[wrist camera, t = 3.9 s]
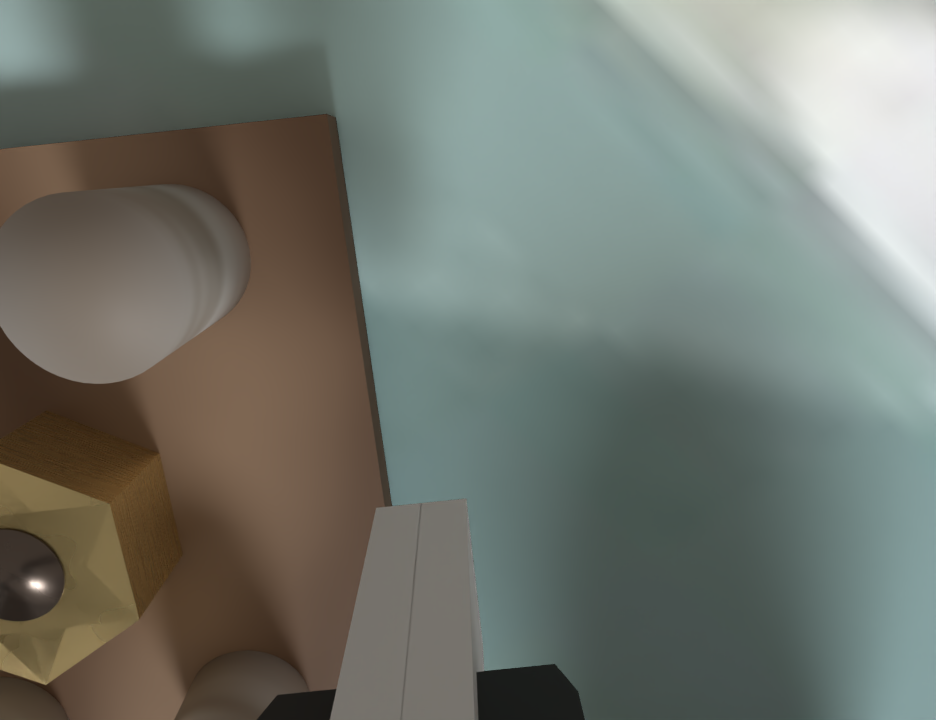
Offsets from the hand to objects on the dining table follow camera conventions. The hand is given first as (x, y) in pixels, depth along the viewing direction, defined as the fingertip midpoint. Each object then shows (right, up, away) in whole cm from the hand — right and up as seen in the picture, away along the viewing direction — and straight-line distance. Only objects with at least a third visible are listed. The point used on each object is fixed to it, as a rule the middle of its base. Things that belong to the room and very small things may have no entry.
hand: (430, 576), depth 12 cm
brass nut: (-8, 0, +4) cm, 9 cm away
